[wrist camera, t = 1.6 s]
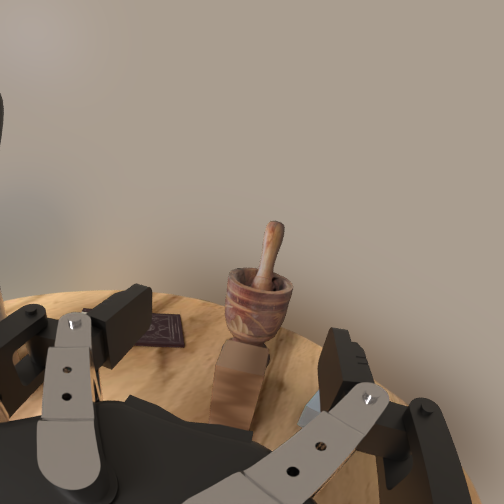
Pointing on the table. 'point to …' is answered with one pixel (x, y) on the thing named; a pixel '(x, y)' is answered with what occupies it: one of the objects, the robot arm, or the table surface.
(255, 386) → the walnut block
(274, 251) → the mortar and pestle
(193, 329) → the table surface
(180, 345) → the chocolate bar
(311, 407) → the slate-blue block
